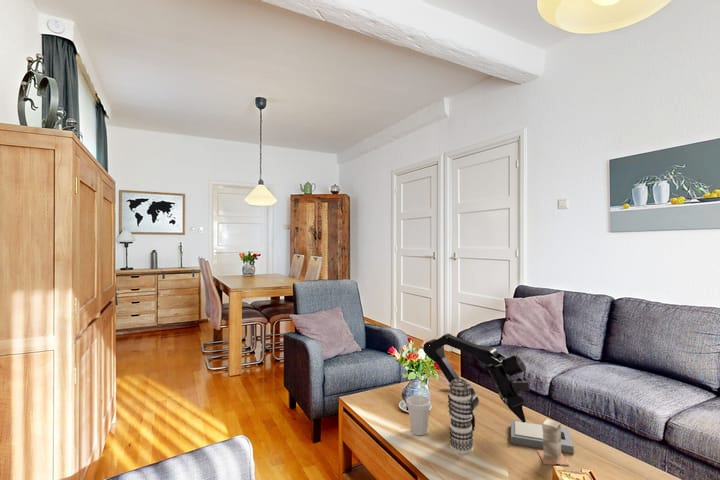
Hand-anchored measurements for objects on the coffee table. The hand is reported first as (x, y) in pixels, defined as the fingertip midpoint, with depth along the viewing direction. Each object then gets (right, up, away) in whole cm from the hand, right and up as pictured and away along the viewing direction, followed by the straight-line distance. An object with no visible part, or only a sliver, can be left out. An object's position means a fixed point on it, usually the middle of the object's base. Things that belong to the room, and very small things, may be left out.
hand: (521, 419), depth 142 cm
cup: (-38, -10, +10) cm, 40 cm away
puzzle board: (+9, -9, +3) cm, 13 cm away
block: (+7, -9, -10) cm, 15 cm away
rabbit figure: (-11, -10, +50) cm, 52 cm away
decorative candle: (-23, -10, -1) cm, 26 cm away
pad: (+7, -9, -10) cm, 15 cm away
